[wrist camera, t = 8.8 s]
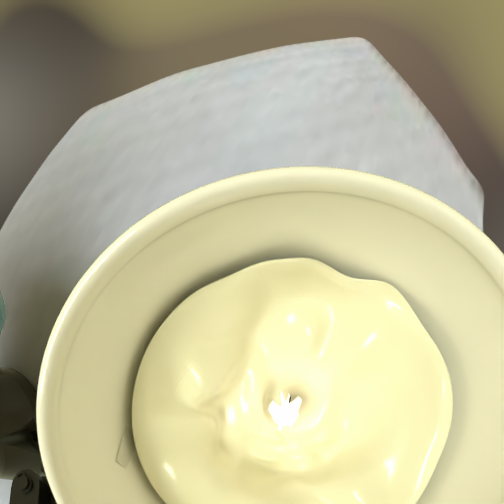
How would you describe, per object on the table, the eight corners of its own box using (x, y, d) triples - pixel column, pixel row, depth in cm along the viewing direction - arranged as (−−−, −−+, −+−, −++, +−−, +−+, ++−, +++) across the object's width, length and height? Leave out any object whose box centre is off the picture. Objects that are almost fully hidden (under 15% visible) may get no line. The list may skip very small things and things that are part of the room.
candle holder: (237, 270, 17) (152, 117, 6) (408, 326, 15) (579, 263, 4) (173, 434, 15) (12, 517, 3) (343, 491, 13) (408, 642, 1)
